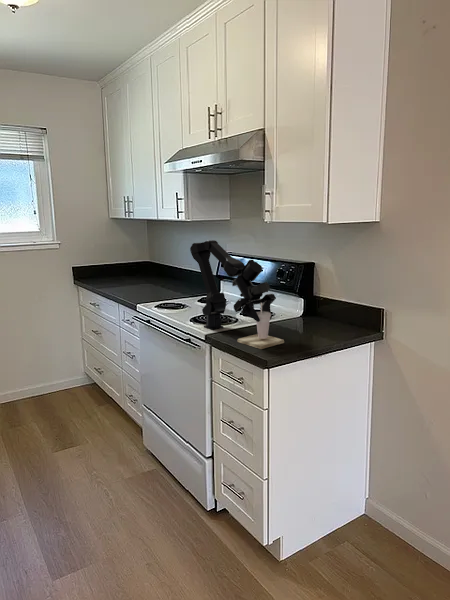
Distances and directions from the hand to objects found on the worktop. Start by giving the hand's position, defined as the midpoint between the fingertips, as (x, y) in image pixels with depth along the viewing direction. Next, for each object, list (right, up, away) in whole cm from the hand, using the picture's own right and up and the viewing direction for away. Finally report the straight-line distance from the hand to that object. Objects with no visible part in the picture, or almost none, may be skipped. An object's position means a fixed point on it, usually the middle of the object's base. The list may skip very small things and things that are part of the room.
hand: (265, 320), depth 177 cm
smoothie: (-1, -7, +3) cm, 8 cm away
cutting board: (-1, -9, +3) cm, 10 cm away
